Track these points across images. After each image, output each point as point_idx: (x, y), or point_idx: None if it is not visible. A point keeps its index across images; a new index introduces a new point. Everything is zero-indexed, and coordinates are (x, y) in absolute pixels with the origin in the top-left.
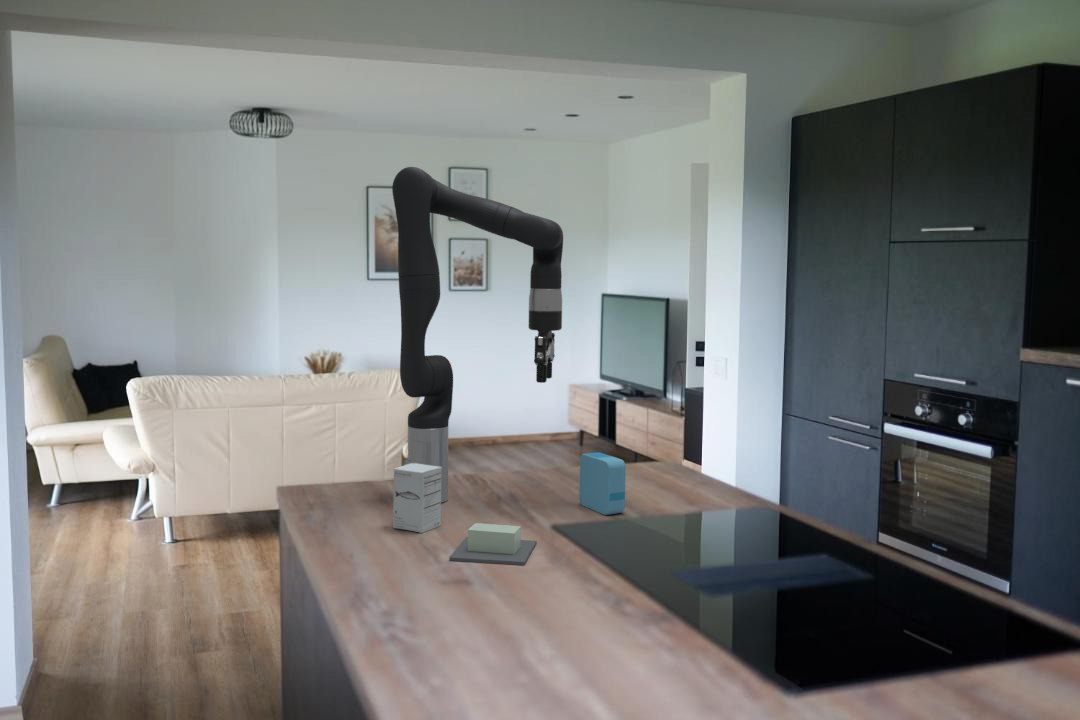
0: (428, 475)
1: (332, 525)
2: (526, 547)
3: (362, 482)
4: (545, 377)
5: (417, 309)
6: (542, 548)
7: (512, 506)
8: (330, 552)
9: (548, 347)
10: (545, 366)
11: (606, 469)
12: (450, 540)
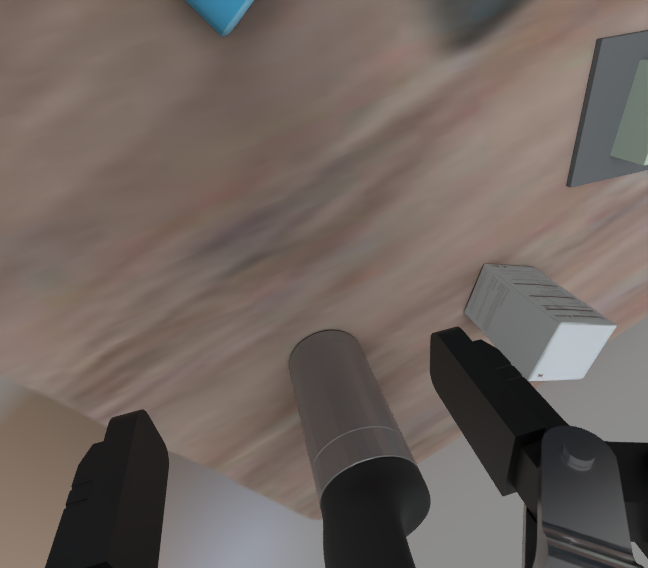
0: (593, 318)
1: None
2: (644, 45)
3: (251, 483)
4: (474, 351)
5: None
6: (627, 14)
7: (315, 204)
8: (615, 317)
9: None
10: (543, 430)
11: None
12: (568, 208)
